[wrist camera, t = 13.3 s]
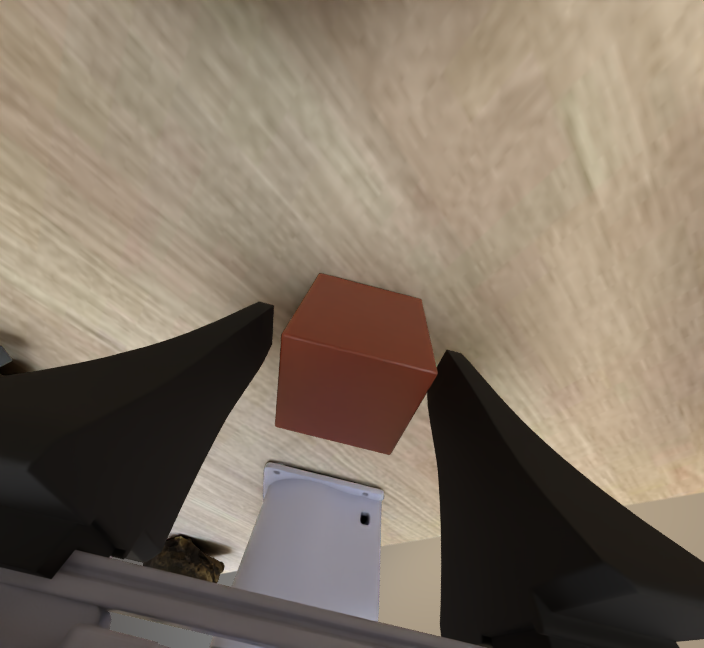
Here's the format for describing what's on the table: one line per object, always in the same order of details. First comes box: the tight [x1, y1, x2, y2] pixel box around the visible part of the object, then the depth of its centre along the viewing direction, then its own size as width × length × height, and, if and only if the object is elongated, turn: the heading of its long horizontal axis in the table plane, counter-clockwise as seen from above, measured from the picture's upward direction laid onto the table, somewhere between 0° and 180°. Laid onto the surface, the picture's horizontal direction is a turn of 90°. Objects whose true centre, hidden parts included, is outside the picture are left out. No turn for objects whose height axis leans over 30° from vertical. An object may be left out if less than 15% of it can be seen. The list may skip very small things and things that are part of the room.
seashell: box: [143, 536, 224, 583], centre depth 34 cm, size 16×9×7 cm, turn 133°
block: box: [275, 273, 438, 455], centre depth 10 cm, size 4×4×4 cm
